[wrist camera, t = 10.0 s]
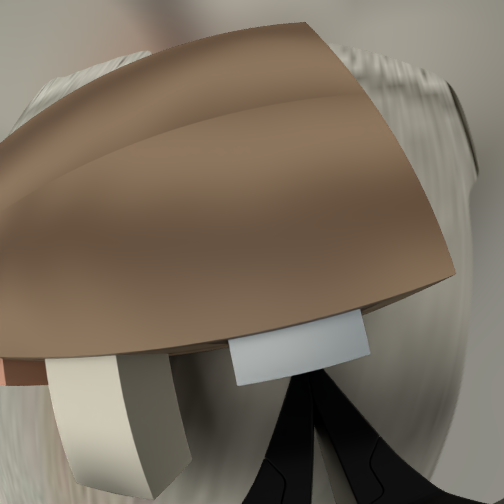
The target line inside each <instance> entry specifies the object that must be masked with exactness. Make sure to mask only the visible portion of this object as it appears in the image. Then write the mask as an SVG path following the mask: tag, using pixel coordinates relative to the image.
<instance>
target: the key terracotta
mask: <svg viewBox="0 0 504 504" xmlns="http://www.w3.org/2000/svg"><path fill="white" fill-rule="evenodd" d="M0 385H5V386H30V385H49V384H48V378H47V371H46V364H45V362H43V361H26V360H13V359H2V358H0Z"/></svg>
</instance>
